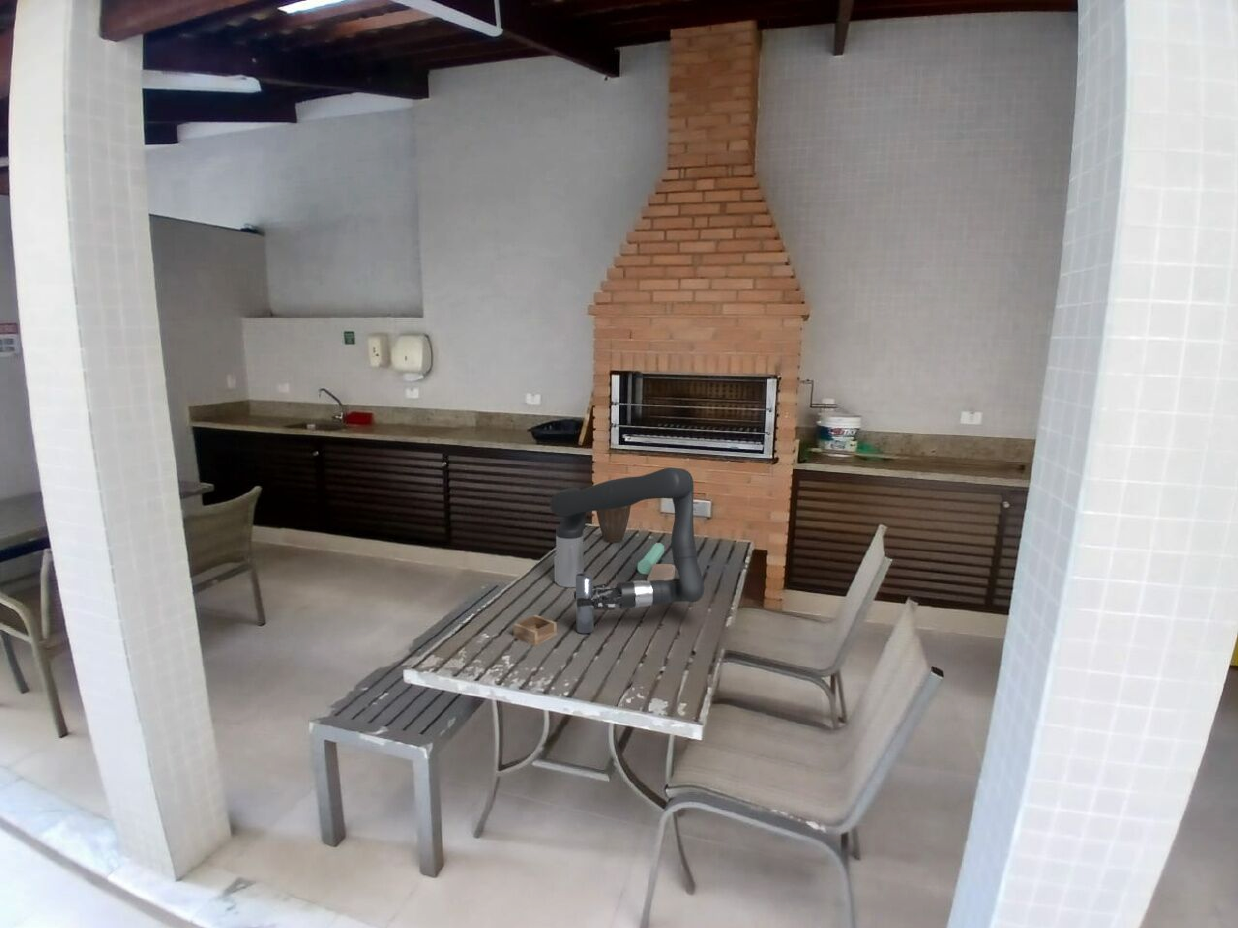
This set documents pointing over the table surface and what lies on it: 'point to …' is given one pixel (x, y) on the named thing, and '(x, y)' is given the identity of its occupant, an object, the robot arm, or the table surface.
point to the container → (650, 558)
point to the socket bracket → (535, 630)
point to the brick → (661, 572)
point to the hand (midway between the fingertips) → (575, 598)
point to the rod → (586, 612)
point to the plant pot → (613, 523)
